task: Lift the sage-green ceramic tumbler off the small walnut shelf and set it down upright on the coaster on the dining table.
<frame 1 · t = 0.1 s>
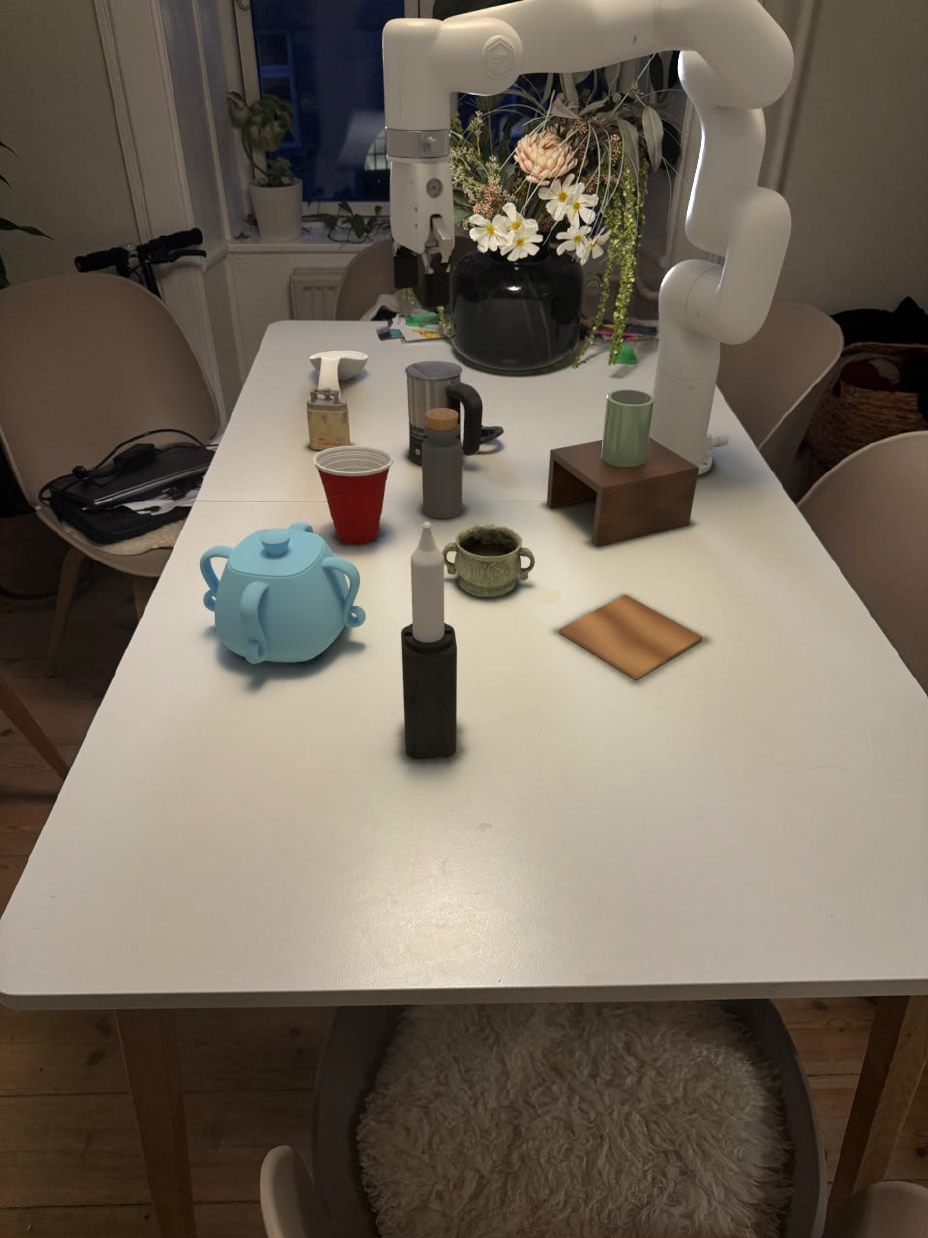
hand: (420, 296, 113), 31 cm above the table, tool pointing down, fingers open, 9 cm apart
spoon rest: (337, 386, 176), on the table
shelf: (616, 514, 130), on the table
lighter: (330, 448, 150), on the table
candle: (430, 742, 89), on the table
coaster: (629, 636, 105), on the table
bottle: (442, 511, 131), on the table
tumbler: (623, 458, 125), point 9 cm above the table, touching shelf
vessel: (487, 583, 115), on the table
decorative pot: (287, 637, 104), on the table
plastic cup: (358, 535, 125), on the table
milk frother: (455, 451, 149), on the table
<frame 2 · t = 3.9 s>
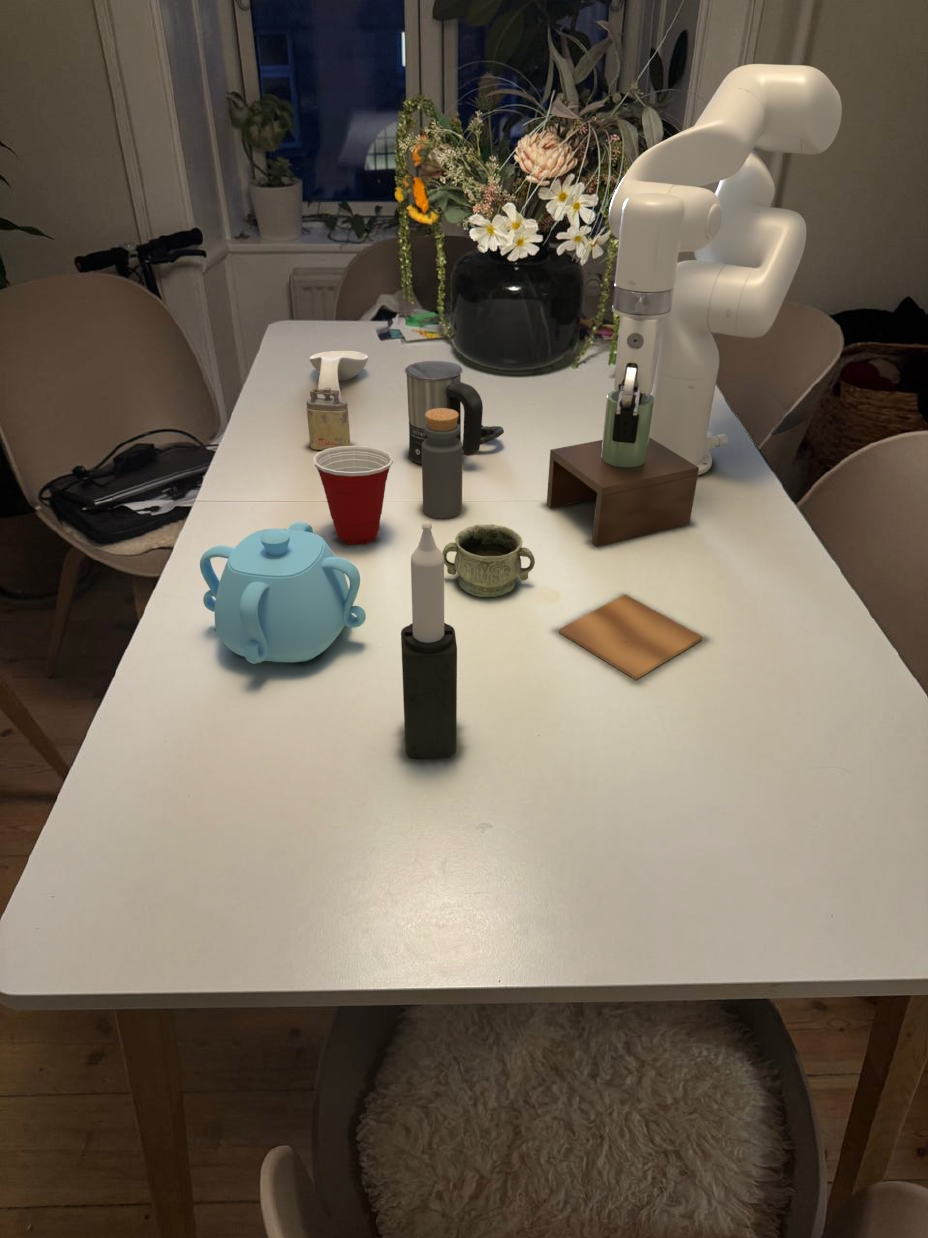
hand: (626, 430, 123), 13 cm above the table, tool pointing down, fingers closed on tumbler, 6 cm apart
tumbler: (623, 458, 125), point 9 cm above the table, touching gripper, shelf
everything else where it was.
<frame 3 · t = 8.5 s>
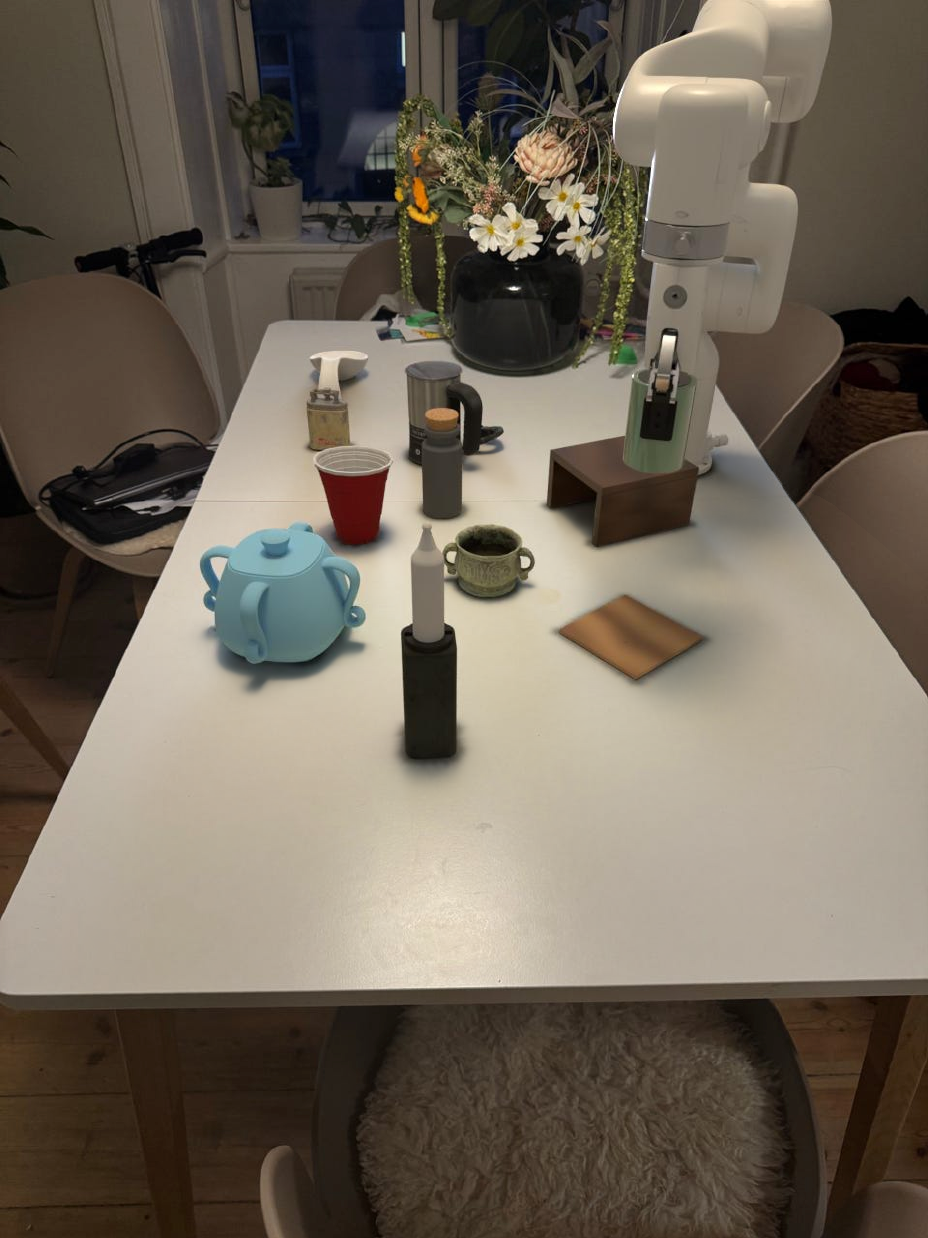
hand: (658, 424, 91), 26 cm above the table, tool pointing down, fingers closed on tumbler, 6 cm apart
tumbler: (652, 461, 93), point 22 cm above the table, touching gripper
everything else where it was.
when the fingers open (5 cm above the table, at t = 13.6 s): tumbler stays where it is, resting on coaster.
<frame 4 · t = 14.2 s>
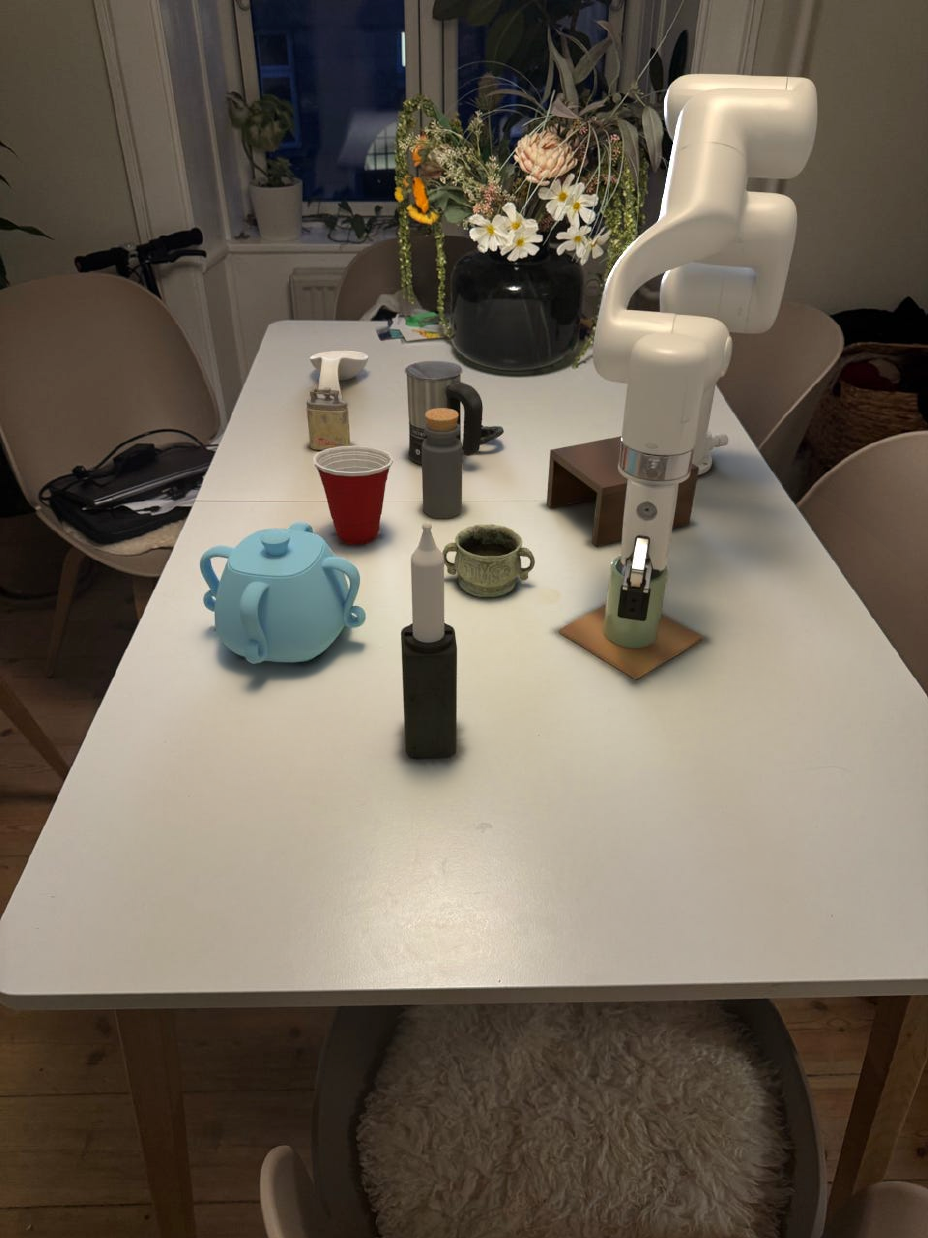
hand: (635, 595, 101), 6 cm above the table, tool pointing down, fingers open, 9 cm apart
tumbler: (630, 632, 104), resting on coaster
everything else where it was.
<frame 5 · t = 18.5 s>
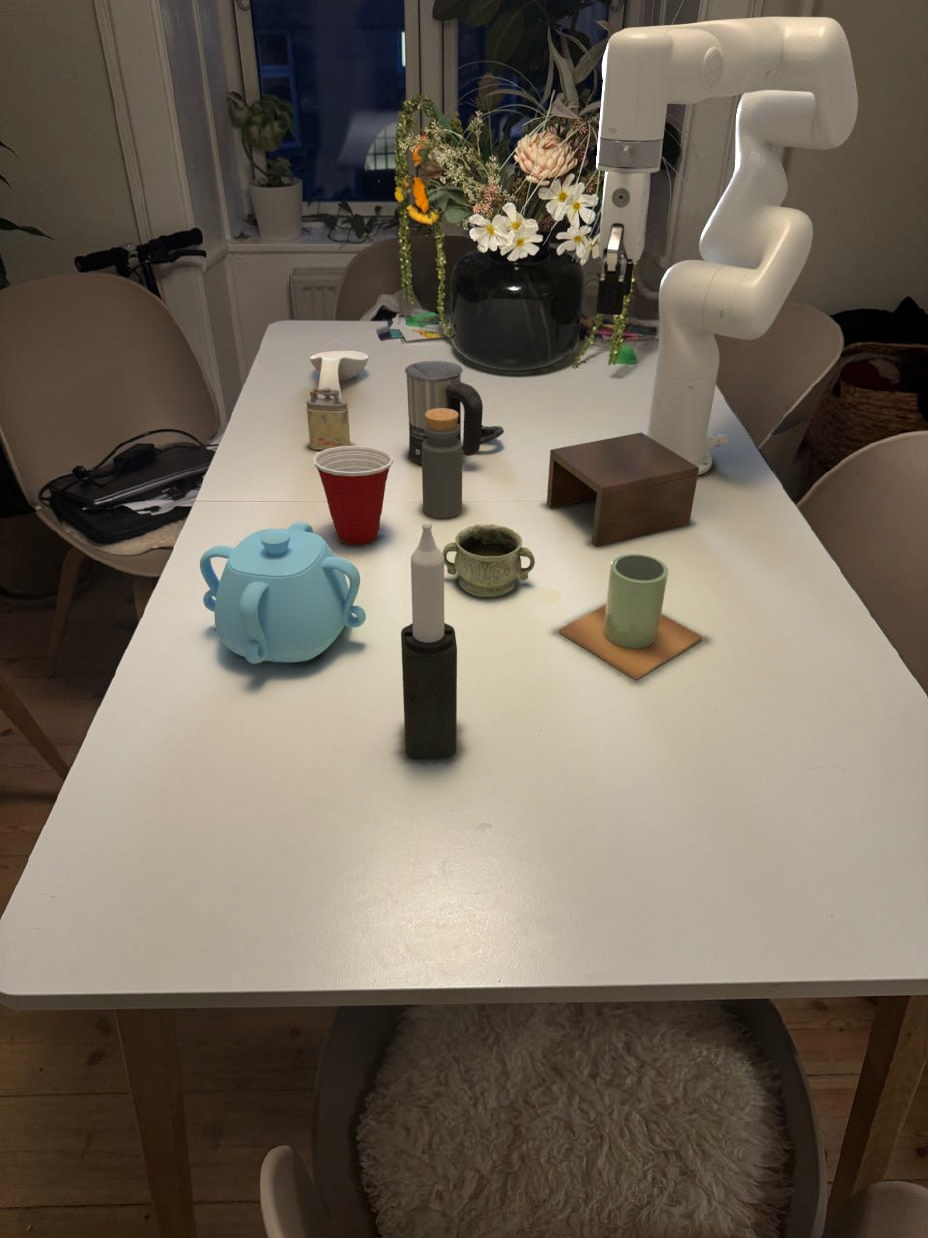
hand: (613, 303, 114), 30 cm above the table, tool pointing down, fingers open, 9 cm apart
nothing on the table moved.
at the end: tumbler inside the target area on the coaster (0.0 cm from its centre), point 0.5 cm above the coaster's base; tumbler tilted 0°; tumbler touching coaster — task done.
